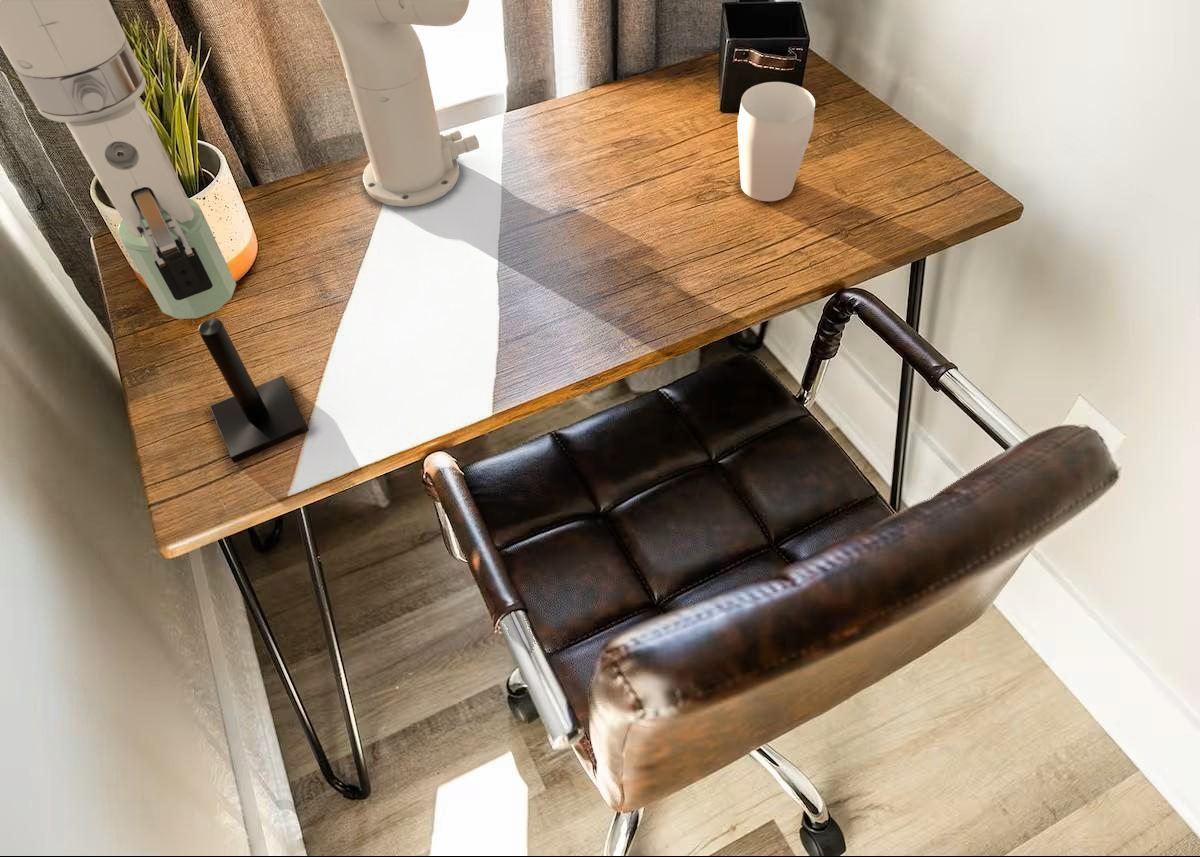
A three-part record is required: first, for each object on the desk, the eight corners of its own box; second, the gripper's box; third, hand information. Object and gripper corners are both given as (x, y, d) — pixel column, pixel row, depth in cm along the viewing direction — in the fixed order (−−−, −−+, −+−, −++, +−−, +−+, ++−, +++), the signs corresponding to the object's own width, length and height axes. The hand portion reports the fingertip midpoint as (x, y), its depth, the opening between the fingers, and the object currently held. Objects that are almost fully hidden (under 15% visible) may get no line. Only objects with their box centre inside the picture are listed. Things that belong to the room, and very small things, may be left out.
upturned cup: (223, 258, 82) (189, 186, 76) (244, 300, 79) (210, 227, 72) (151, 285, 80) (110, 212, 74) (169, 329, 77) (127, 257, 70)
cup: (720, 196, 114) (727, 112, 104) (747, 158, 119) (756, 74, 109) (787, 216, 111) (801, 131, 102) (812, 175, 116) (827, 91, 106)
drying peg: (285, 381, 97) (239, 285, 86) (309, 430, 93) (265, 336, 82) (212, 411, 95) (156, 317, 84) (234, 463, 90) (177, 371, 79)
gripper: (165, 115, 60) (255, 310, 74) (111, 10, 69) (200, 200, 83) (47, 152, 57) (163, 346, 71) (9, 38, 67) (117, 229, 81)
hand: (182, 266), depth 77 cm, fingers closed on upturned cup, 6 cm apart
